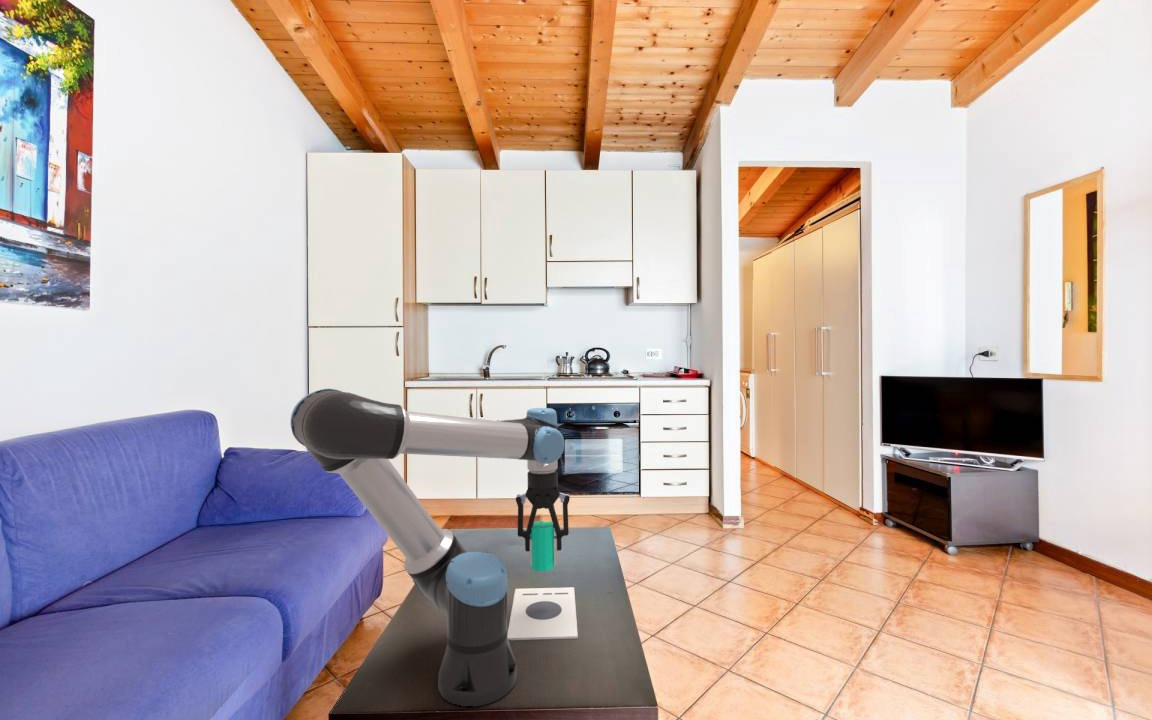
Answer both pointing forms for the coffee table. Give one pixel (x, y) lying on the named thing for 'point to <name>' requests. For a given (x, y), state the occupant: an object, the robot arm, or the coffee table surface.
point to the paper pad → (543, 614)
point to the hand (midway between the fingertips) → (543, 563)
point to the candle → (542, 546)
